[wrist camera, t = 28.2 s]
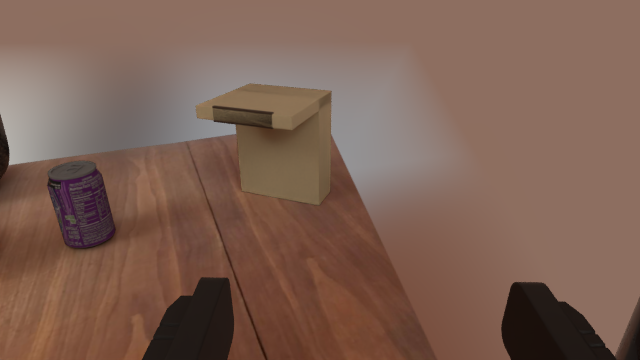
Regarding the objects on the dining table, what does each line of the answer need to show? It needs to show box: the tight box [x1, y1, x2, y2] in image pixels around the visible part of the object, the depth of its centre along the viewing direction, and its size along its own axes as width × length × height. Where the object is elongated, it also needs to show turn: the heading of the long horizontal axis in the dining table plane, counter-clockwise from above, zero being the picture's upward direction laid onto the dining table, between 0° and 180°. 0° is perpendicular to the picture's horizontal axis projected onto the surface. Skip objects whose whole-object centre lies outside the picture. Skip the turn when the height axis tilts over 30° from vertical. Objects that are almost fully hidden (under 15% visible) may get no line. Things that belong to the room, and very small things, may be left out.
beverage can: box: [47, 161, 115, 248], centre depth 63 cm, size 7×7×12 cm
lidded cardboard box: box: [196, 84, 331, 206], centre depth 73 cm, size 20×16×20 cm
